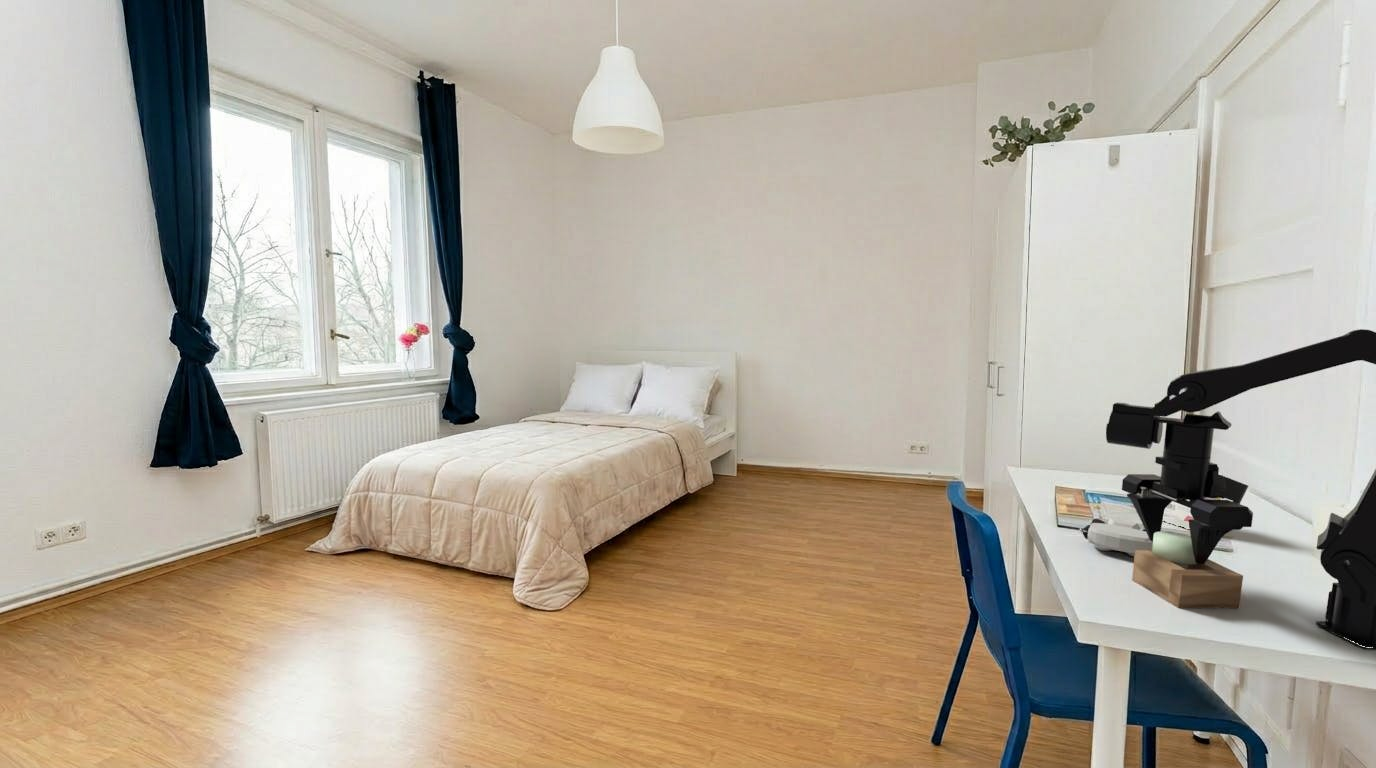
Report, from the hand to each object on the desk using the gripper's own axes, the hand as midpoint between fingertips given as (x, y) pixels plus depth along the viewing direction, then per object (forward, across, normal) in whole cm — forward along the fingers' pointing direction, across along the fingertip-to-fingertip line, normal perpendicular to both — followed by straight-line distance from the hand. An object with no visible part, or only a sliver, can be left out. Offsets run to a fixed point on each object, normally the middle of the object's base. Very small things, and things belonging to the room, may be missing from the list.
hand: (1175, 551), depth 99 cm
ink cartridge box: (+6, +29, -26) cm, 39 cm away
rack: (+6, -2, 0) cm, 6 cm away
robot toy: (+6, +17, -4) cm, 19 cm away
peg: (+4, 0, 0) cm, 4 cm away
